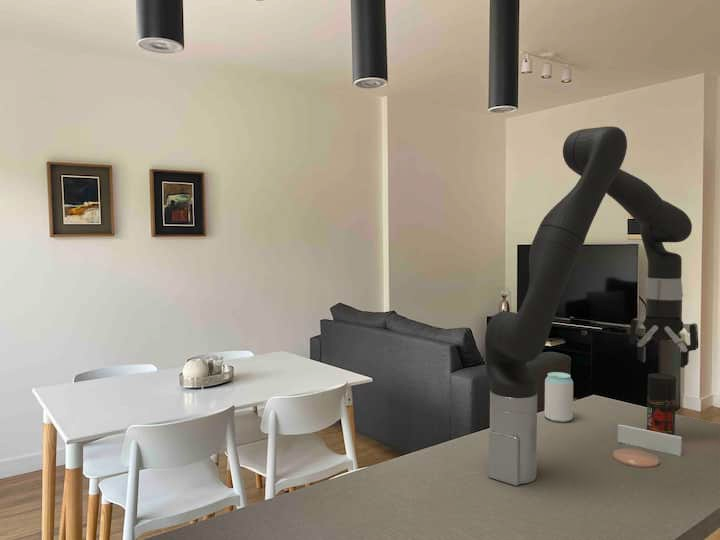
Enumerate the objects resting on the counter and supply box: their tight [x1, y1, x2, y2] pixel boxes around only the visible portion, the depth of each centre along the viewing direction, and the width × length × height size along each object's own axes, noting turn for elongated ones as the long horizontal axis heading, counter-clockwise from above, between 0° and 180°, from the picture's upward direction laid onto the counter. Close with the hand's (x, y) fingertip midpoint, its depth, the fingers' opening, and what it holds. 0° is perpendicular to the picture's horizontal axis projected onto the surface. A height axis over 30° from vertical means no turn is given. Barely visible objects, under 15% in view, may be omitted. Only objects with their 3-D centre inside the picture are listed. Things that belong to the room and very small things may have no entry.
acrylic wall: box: [617, 424, 683, 457], centre depth 125 cm, size 1×13×4 cm, turn 49°
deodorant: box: [646, 372, 677, 436], centre depth 132 cm, size 6×6×15 cm
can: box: [544, 371, 574, 423], centre depth 146 cm, size 7×7×12 cm
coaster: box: [612, 447, 660, 469], centre depth 119 cm, size 9×9×1 cm
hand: (662, 364), depth 131 cm, fingers open, 8 cm apart
